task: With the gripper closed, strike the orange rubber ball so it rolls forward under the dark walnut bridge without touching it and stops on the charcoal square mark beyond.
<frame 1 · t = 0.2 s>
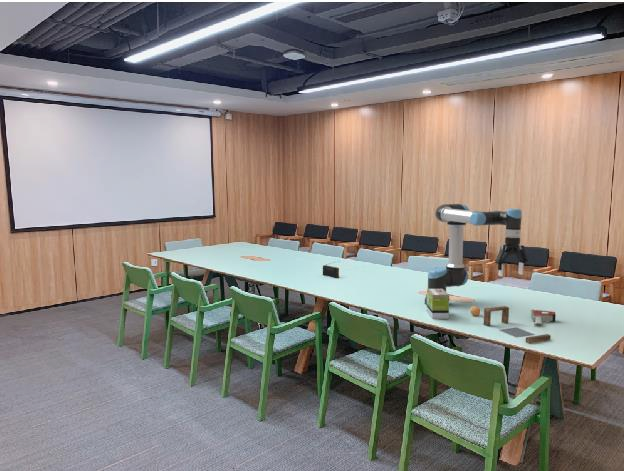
hand: (510, 275, 246), 28 cm above the table, tool pointing down, fingers open, 13 cm apart
bridge: (495, 323, 249), on the table
tape dispenser: (539, 322, 253), on the table
ball: (475, 310, 264), on the table
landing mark: (516, 332, 234), on the table
radio: (331, 277, 374), on the table
tea box: (437, 315, 265), on the table
brown wooden bar: (538, 341, 221), on the table
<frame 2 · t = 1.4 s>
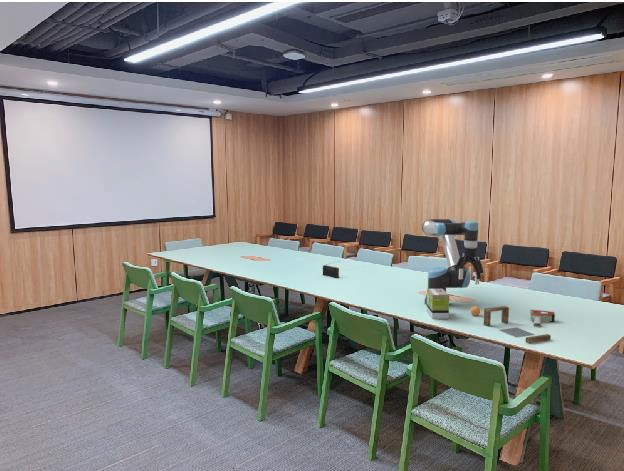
hand: (468, 281, 270), 19 cm above the table, tool pointing down, fingers open, 13 cm apart
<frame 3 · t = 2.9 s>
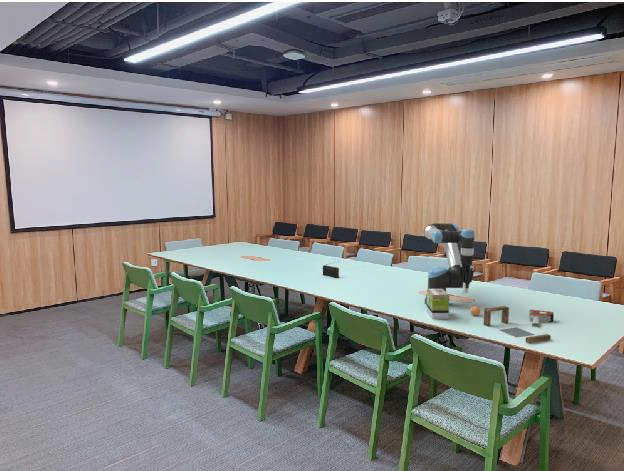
hand: (465, 292, 272), 11 cm above the table, tool pointing down, fingers closed
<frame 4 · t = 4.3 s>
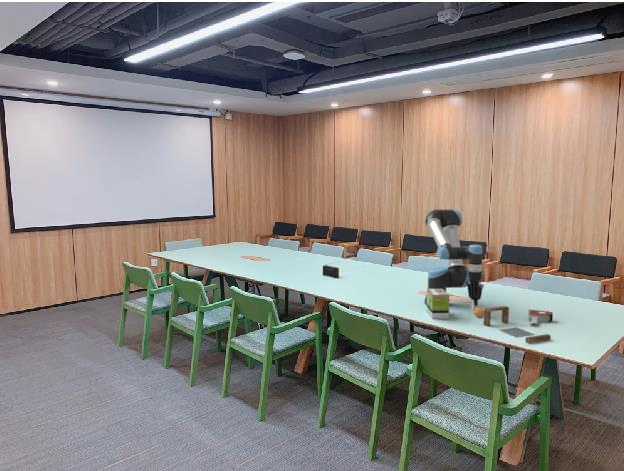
hand: (474, 310, 264), 3 cm above the table, tool pointing down, fingers closed
ball: (479, 312, 261), on the table
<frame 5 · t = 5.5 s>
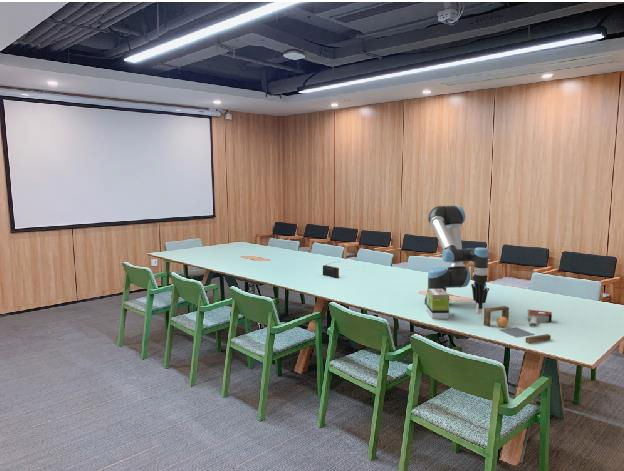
hand: (478, 313, 261), 2 cm above the table, tool pointing down, fingers closed
ball: (502, 321, 243), on the table
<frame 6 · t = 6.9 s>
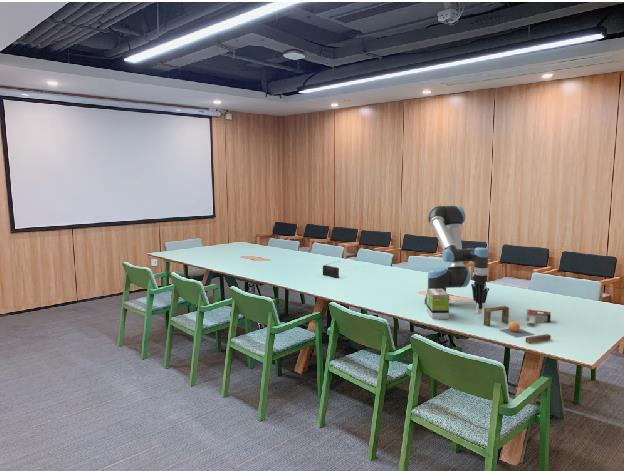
hand: (478, 313, 261), 2 cm above the table, tool pointing down, fingers closed
ball: (513, 326, 235), on the table
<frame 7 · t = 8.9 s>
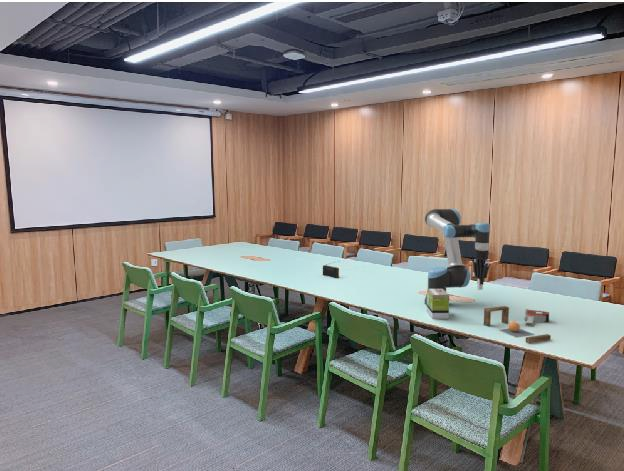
hand: (479, 289, 260), 16 cm above the table, tool pointing down, fingers closed
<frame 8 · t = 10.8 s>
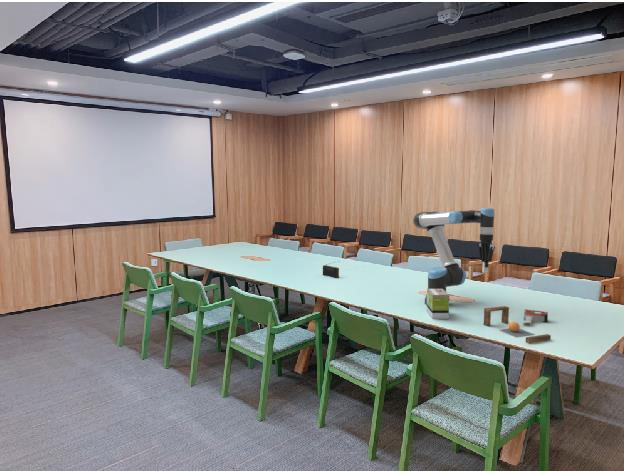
hand: (484, 272, 270), 24 cm above the table, tool pointing down, fingers closed
at the end: ball 1.5 cm from the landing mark (horizontally); ball never touched bridge; ball at rest at the end (0.0 cm/s) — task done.
